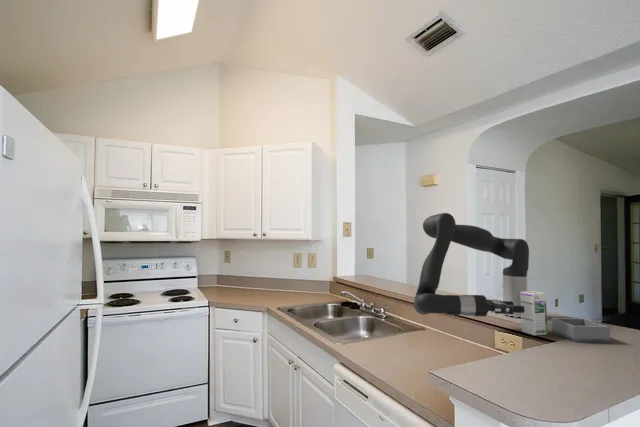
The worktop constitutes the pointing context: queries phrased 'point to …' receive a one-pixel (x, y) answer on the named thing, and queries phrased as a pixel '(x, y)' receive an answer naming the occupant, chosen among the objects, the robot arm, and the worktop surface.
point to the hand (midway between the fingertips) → (518, 306)
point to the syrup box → (534, 313)
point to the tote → (580, 330)
